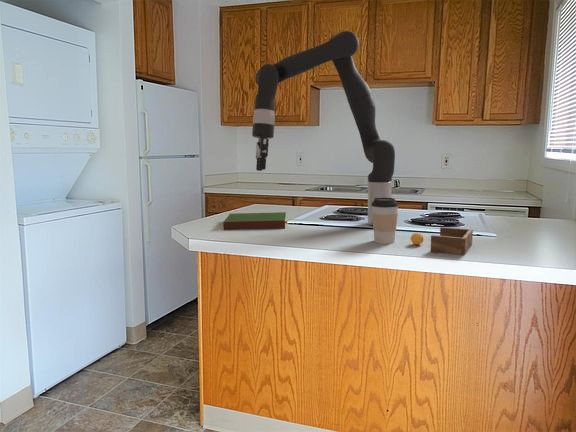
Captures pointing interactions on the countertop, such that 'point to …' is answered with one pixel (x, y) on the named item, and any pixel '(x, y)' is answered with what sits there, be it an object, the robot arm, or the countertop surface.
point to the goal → (452, 241)
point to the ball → (417, 238)
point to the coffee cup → (384, 219)
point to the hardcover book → (255, 221)
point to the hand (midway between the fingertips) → (260, 170)
